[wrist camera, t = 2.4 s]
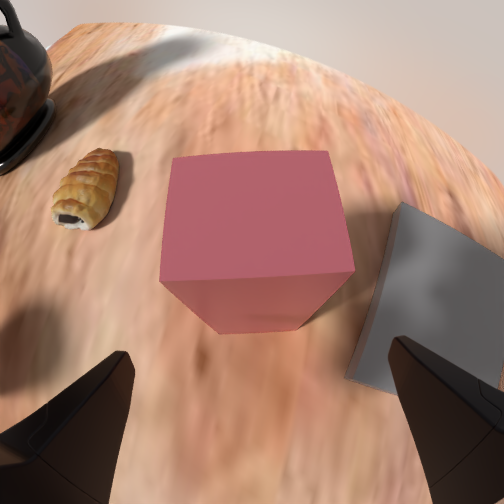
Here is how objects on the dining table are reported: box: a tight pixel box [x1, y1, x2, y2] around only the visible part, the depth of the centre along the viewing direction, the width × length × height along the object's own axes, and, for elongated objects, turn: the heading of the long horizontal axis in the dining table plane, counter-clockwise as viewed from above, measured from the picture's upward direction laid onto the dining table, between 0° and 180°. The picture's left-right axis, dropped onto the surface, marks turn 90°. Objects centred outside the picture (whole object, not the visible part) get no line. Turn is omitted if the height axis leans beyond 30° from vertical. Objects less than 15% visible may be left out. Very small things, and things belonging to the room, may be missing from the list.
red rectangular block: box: [159, 151, 355, 334], centre depth 14 cm, size 4×6×13 cm
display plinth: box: [344, 202, 504, 396], centre depth 18 cm, size 15×15×2 cm
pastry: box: [51, 148, 119, 230], centre depth 23 cm, size 9×7×4 cm
